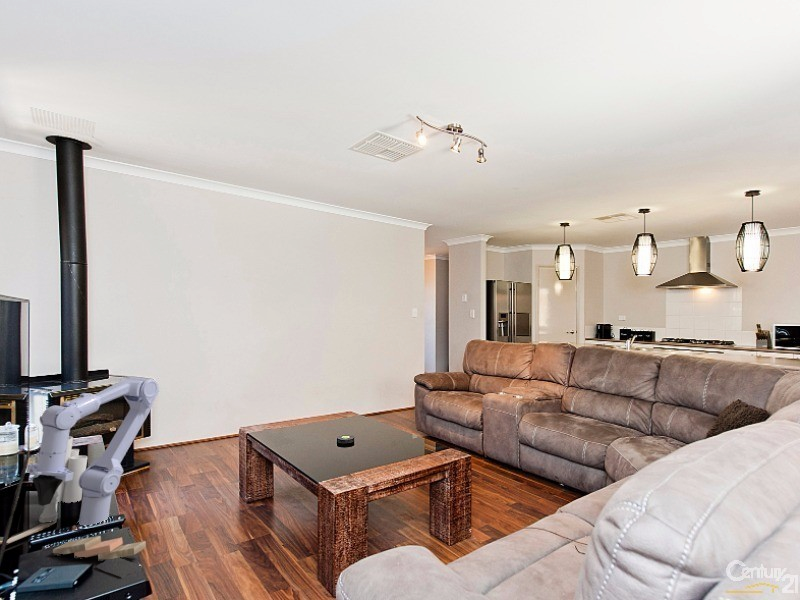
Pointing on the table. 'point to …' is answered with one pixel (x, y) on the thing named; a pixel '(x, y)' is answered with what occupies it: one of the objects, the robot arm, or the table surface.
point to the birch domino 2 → (124, 551)
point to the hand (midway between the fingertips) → (44, 504)
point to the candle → (77, 465)
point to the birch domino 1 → (77, 545)
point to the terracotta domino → (100, 548)
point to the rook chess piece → (49, 511)
